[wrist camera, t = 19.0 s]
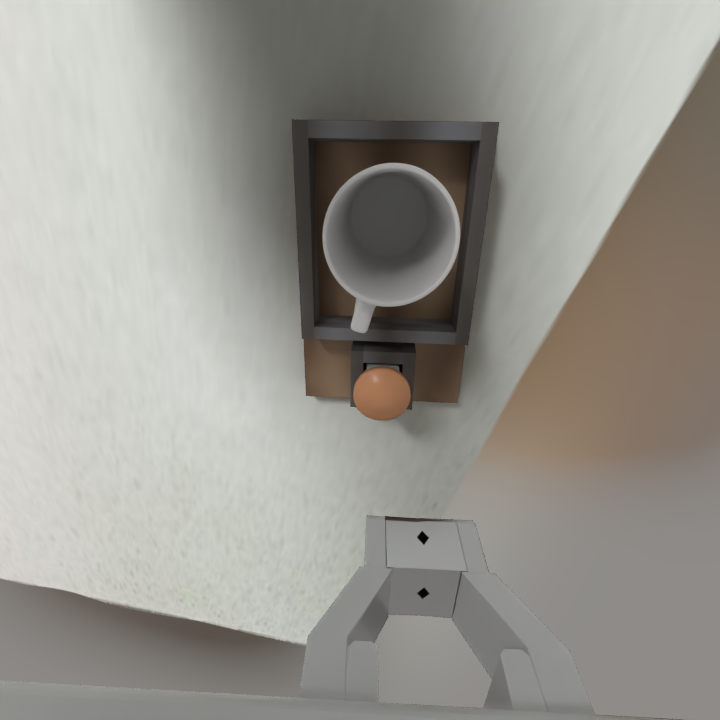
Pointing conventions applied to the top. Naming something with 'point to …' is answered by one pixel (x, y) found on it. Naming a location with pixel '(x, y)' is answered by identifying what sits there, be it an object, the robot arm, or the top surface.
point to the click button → (382, 391)
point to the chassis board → (399, 323)
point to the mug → (390, 237)
